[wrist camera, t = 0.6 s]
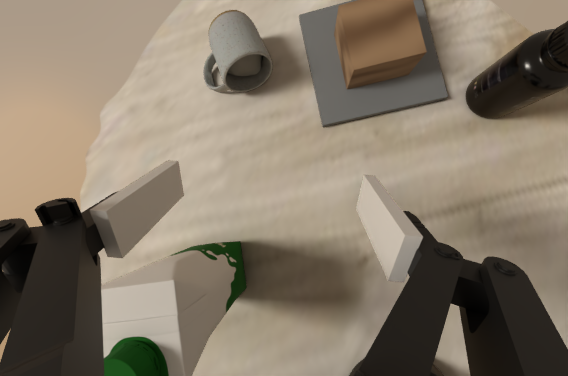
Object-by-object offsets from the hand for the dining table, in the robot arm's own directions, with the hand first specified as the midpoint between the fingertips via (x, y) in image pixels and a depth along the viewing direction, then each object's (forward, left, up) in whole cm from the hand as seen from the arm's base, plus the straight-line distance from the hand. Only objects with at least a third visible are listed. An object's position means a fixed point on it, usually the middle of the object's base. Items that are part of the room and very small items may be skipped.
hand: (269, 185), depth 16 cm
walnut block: (+18, -16, -17) cm, 30 cm away
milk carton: (-9, +13, -19) cm, 24 cm away
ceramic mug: (+21, +4, -19) cm, 28 cm away
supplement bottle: (+8, -31, -19) cm, 37 cm away
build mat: (+18, -16, -18) cm, 30 cm away
